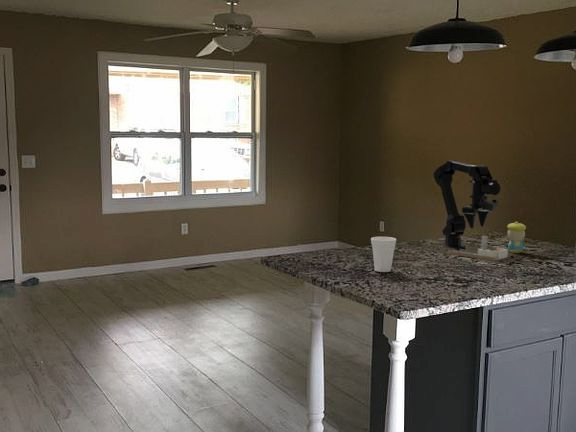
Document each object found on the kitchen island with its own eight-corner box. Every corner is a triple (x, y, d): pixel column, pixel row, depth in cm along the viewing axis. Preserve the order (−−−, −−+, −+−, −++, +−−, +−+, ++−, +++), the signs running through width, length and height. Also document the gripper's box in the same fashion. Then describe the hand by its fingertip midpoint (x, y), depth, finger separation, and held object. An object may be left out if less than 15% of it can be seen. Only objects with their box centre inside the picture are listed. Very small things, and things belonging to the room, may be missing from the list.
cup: (365, 269, 251) (366, 237, 249) (386, 267, 255) (387, 235, 253) (378, 274, 242) (379, 241, 240) (400, 272, 245) (401, 239, 244)
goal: (486, 258, 271) (486, 250, 271) (497, 255, 278) (497, 247, 278) (496, 260, 268) (497, 252, 267) (507, 257, 275) (508, 249, 274)
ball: (499, 254, 270) (493, 259, 272) (503, 253, 273) (497, 258, 275) (494, 248, 272) (488, 253, 274) (498, 247, 274) (492, 252, 276)
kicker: (477, 254, 278) (478, 236, 277) (481, 253, 280) (482, 235, 279) (485, 256, 275) (486, 237, 274) (490, 255, 277) (490, 236, 276)
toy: (521, 252, 290) (523, 220, 288) (526, 256, 281) (528, 223, 279) (503, 252, 291) (505, 219, 289) (508, 255, 282) (510, 222, 280)
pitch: (447, 255, 281) (447, 250, 281) (466, 250, 293) (466, 246, 292) (493, 262, 266) (493, 257, 266) (511, 257, 277) (511, 252, 277)
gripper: (484, 195, 271) (483, 231, 273) (505, 193, 284) (503, 227, 286) (461, 194, 279) (460, 228, 281) (482, 191, 292) (481, 224, 294)
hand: (477, 227), depth 285 cm, fingers open, 9 cm apart
